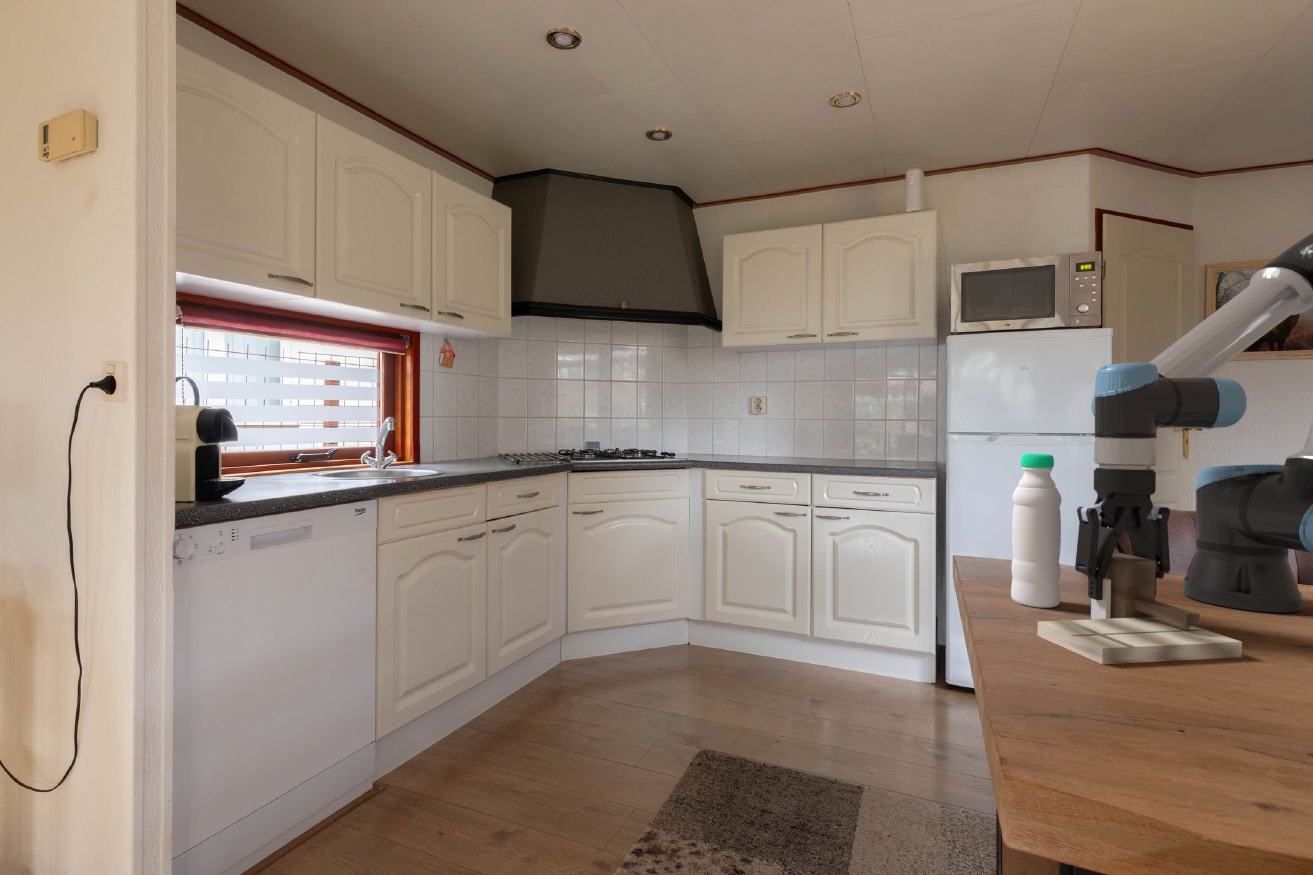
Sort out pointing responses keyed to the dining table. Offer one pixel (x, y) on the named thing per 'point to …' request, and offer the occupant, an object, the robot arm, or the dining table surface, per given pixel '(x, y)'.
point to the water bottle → (1036, 535)
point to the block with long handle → (1141, 592)
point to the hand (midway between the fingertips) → (1121, 619)
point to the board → (1137, 640)
